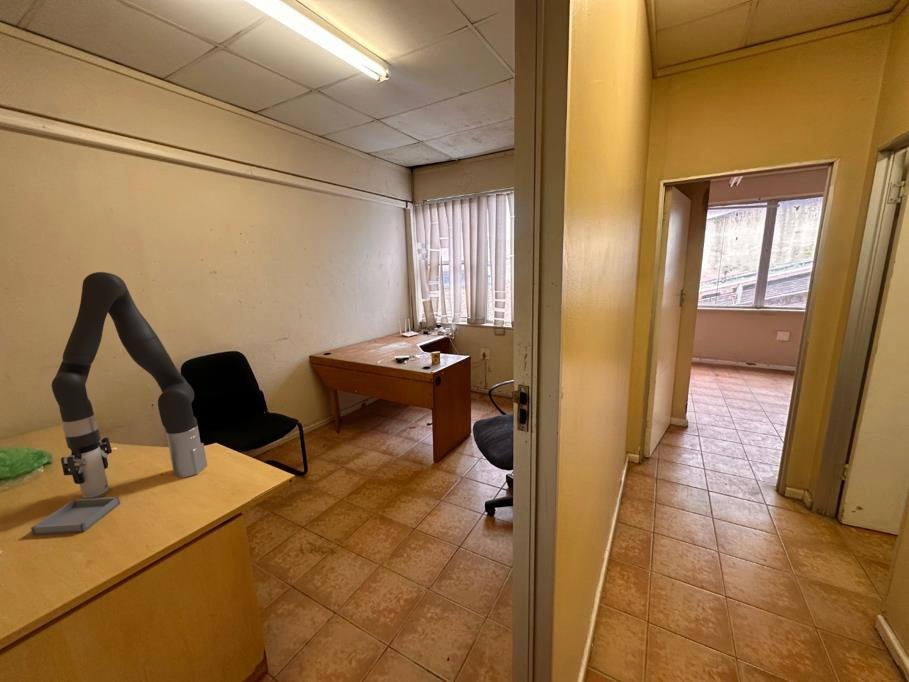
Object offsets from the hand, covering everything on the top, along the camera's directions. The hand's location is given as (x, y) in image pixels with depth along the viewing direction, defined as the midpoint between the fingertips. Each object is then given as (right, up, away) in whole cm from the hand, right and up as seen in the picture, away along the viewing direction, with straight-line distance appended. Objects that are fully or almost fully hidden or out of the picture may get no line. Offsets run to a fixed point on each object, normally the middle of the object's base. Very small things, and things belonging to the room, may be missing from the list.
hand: (92, 475), depth 116 cm
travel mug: (0, -7, +2) cm, 7 cm away
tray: (+6, -9, -10) cm, 15 cm away
